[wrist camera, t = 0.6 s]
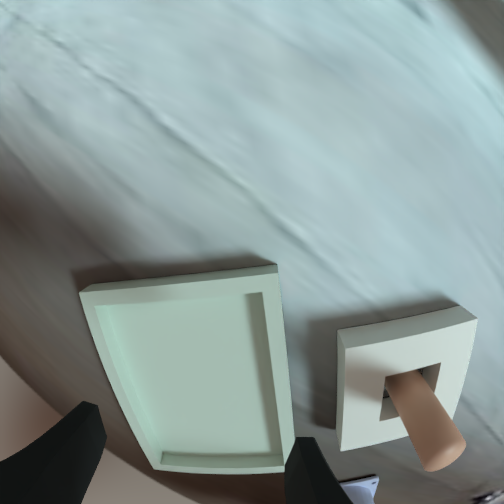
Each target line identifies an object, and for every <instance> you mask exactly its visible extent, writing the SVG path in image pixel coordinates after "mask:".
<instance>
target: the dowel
mask: <svg viewBox="0 0 504 504" xmlns="http://www.w3.org/2000/svg"><path fill="white" fill-rule="evenodd" d="M384 386H385V388H386V390H387V392H388V394H389V396H390V398H391V400H392V402H393V404H394V406H395V408H396V410H397V412H398V414H399V416H400V418H401V420H402V422H403V424H404V426H405V428H406V431H407V433H408V435H409V437H410V439H411V441H412V443H413V445H414V448H415V450H416V452H417V454H418V456H419V458H420V461H421V463H422V465H423V467H424V469H425V470H426V471H436V470H439V469H442V468H444V467H446V466H447V465H449V464H450V463H452V462H453V461H454V460H456V459H457V458H458V457H459V456H460V455H461V453H462V452H463V451H464V449H465V447H466V442H465V440H464V438H463V437H462V435H461V434H460V432H459V430H458V429H457V427H456V426H455V424H454V423H453V421H452V420H451V418H450V417H449V415H448V413H447V412H446V410H445V409H444V407H443V406H442V404H441V403H440V401H439V400H438V398H437V397H436V395H435V394H434V393H433V391H432V390H431V388H430V387H429V385H428V384H427V382H426V381H425V379H424V378H423V377H422V375H421V374H420V372H419V371H418V369H415V370H411V371H407V372H403V373H399V374H394V375H390V376H386V377H385V383H384Z"/></svg>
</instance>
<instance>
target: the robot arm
mask: <svg viewBox="0 0 504 504" xmlns="http://www.w3.org/2000/svg"><path fill="white" fill-rule="evenodd" d="M106 439H107V435H106V432H105V429H104V426H103V423H102V419H101V416H100V413H99V409H98V405H95V404H92V403H89V402H86V401H82V402H81V403H80V404H79V405H77V406H76V407H75V408H74V409H73V410H72V411H71V412H70V413H68V414H67V415H66V416H65V417H64V418H63V419H61V420H60V421H59V422H58V423H57V424H56V425H55V426H53V427H52V428H51V429H49V430H48V431H47V432H46V433H44V434H43V435H42V436H41V437H39V438H38V439H36V440H35V441H34V442H32V443H31V444H29V445H28V446H27V447H25V448H24V449H22V450H20V451H19V452H17V453H15V454H14V455H12V456H10V457H9V458H7V459H5V460H3V461H0V504H81V503H82V500H83V498H84V495H85V493H86V491H87V488H88V486H89V484H90V482H91V479H92V477H93V475H94V473H95V470H96V468H97V465H98V464H99V461H100V459H101V455H102V453H103V449H104V446H105V442H106ZM284 479H285V496H286V504H374V501H373V497H374V494H375V491H376V488H377V484H378V481H379V477H378V476H373V477H368V478H364V479H359V480H355V481H349V482H344V483H339V482H338V480H337V479H336V477H335V476H334V474H333V472H332V470H331V469H330V467H329V465H328V463H327V462H326V460H325V458H324V456H323V454H322V452H321V450H320V448H319V446H318V444H317V442H316V440H315V438H314V437H296V440H295V442H294V445H293V447H292V449H291V452H290V454H289V456H288V459H287V461H286V463H285V477H284Z"/></svg>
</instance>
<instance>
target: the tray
mask: <svg viewBox="0 0 504 504" xmlns="http://www.w3.org/2000/svg"><path fill="white" fill-rule="evenodd" d="M79 295H80V299H81V302H82V305H83V309H84V312H85V315H86V318H87V321H88V325H89V328H90V331H91V334H92V336H93V339H94V342H95V345H96V348H97V350H98V353H99V356H100V358H101V361H102V364H103V366H104V369H105V371H106V374H107V376H108V379H109V381H110V383H111V386H112V388H113V390H114V393H115V395H116V397H117V399H118V402H119V404H120V406H121V408H122V410H123V412H124V414H125V417H126V419H127V421H128V423H129V425H130V427H131V429H132V431H133V433H134V435H135V436H136V438H137V440H138V442H139V444H140V446H141V448H142V449H143V451H144V453H145V455H146V457H147V458H148V460H149V462H150V464H151V465H152V467H153V469H155V470H164V471H174V472H186V473H203V474H261V473H277V472H285V463H286V461H287V459H288V456H289V454H290V452H291V449H292V447H293V445H294V442H295V439H294V427H293V415H292V404H291V393H290V382H289V371H288V361H287V351H286V341H285V331H284V321H283V312H282V303H281V294H280V285H279V276H278V267H277V264H274V265H265V266H257V267H248V268H239V269H231V270H222V271H213V272H204V273H194V274H185V275H176V276H166V277H157V278H147V279H137V280H127V281H117V282H107V283H96V284H91V285H89V286H88V287H86V288H85V289H83V290H82V291H80V292H79Z"/></svg>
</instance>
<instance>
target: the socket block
mask: <svg viewBox="0 0 504 504" xmlns="http://www.w3.org/2000/svg"><path fill="white" fill-rule="evenodd" d="M477 321H478V318H477V317H475V316H474V315H473V314H471V313H470V312H469V311H467V310H466V309H465V308H463V307H462V306H461V305H459V306H455V307H451V308H447V309H443V310H439V311H434V312H430V313H425V314H421V315H416V316H411V317H406V318H402V319H396V320H391V321H386V322H381V323H375V324H369V325H364V326H358V327H352V328H345V329H339V330H337V414H336V433H337V438H338V442H339V446H340V451H345V450H350V449H355V448H360V447H365V446H370V445H374V444H378V443H382V442H386V441H390V440H394V439H398V438H402V437H405V436H409V435H408V433H407V431H406V428H405V426H404V424H403V422H402V420H401V418H400V416H399V414H398V412H397V410H396V408H395V406H394V404H393V402H392V400H391V398H390V397H388V398H383V391H384V383H385V377H386V376H390V375H394V374H399V373H403V372H407V371H411V370H415V369H419V368H422V367H424V368H423V373H422V377H423V378H424V379H425V381H426V382H427V384H428V385H429V387H430V388H431V390H432V391H433V393H434V394H435V395H436V397H437V398H438V400H439V401H440V403H441V404H442V406H443V407H444V409H445V410H446V412H447V413H448V415H449V417H450V418H451V420H452V418H453V415H454V412H455V409H456V406H457V403H458V400H459V397H460V394H461V390H462V387H463V383H464V380H465V376H466V372H467V369H468V365H469V360H470V356H471V352H472V347H473V343H474V338H475V332H476V327H477Z"/></svg>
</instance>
